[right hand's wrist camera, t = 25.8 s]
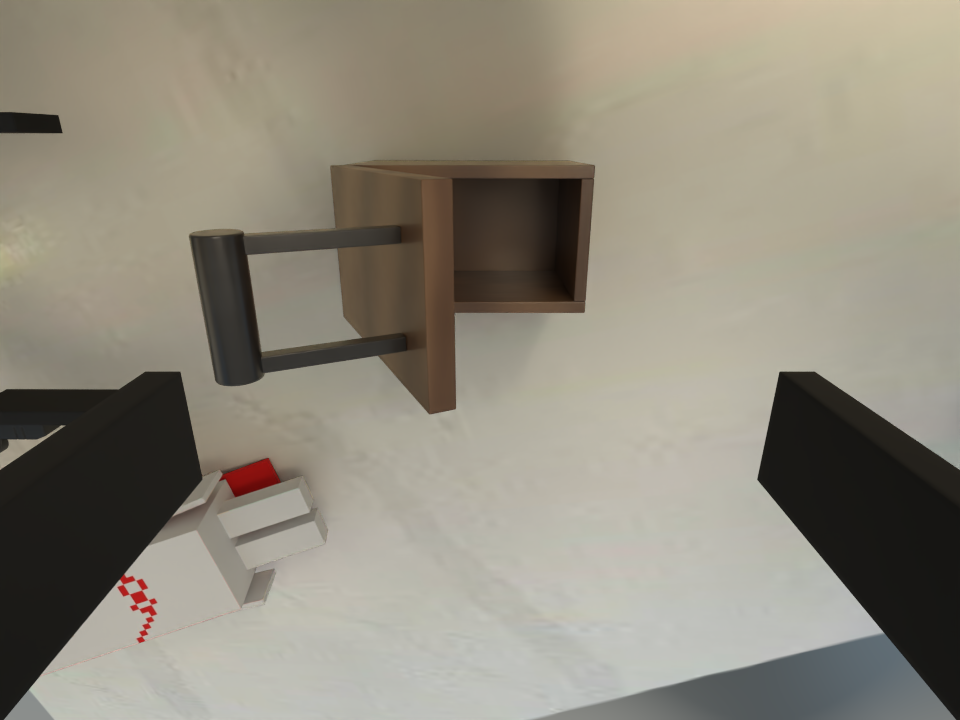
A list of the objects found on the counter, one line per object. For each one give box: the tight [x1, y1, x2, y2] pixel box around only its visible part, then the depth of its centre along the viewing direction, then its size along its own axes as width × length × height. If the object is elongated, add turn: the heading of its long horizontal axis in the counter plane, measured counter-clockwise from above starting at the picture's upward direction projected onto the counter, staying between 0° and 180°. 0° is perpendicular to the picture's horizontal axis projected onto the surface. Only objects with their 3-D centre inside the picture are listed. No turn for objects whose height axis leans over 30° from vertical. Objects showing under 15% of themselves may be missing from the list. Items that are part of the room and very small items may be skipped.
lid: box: [189, 165, 456, 414], centre depth 27 cm, size 16×10×9 cm
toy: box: [40, 458, 328, 676], centre depth 52 cm, size 12×13×30 cm
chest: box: [347, 160, 595, 313], centre depth 41 cm, size 16×10×11 cm, turn 90°
